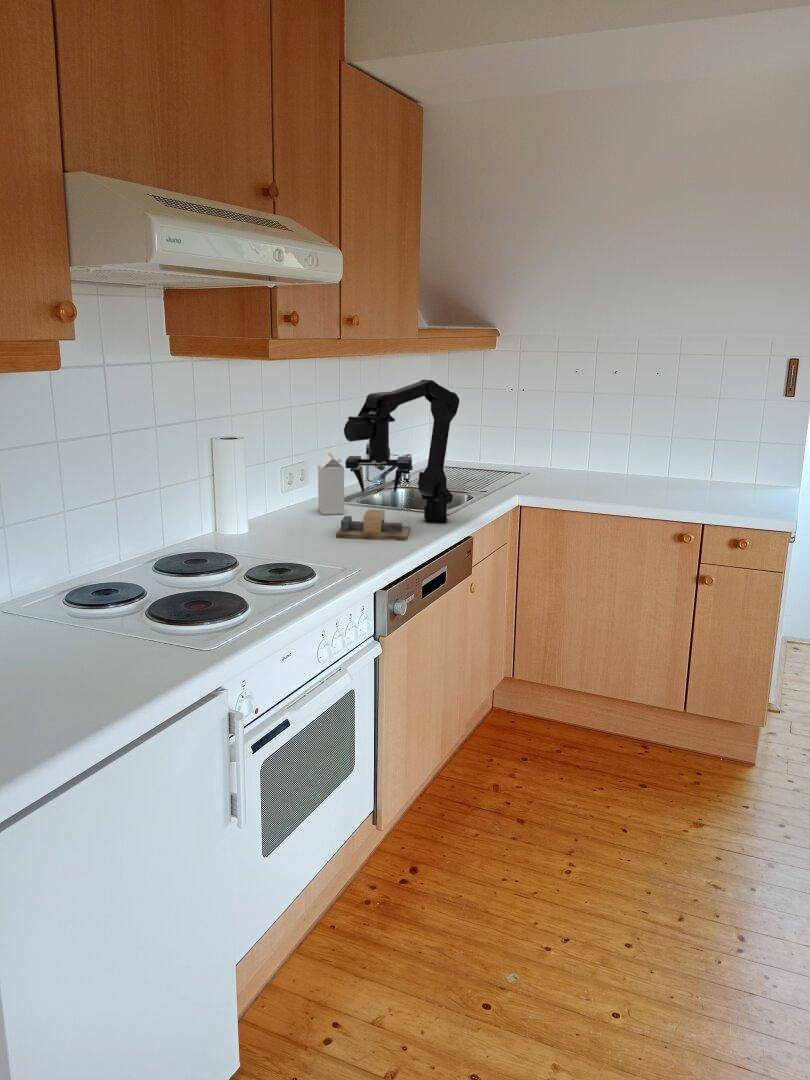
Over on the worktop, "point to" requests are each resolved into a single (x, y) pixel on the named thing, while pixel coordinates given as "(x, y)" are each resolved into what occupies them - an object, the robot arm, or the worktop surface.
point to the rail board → (356, 532)
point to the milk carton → (331, 486)
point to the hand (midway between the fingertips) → (379, 492)
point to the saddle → (373, 521)
